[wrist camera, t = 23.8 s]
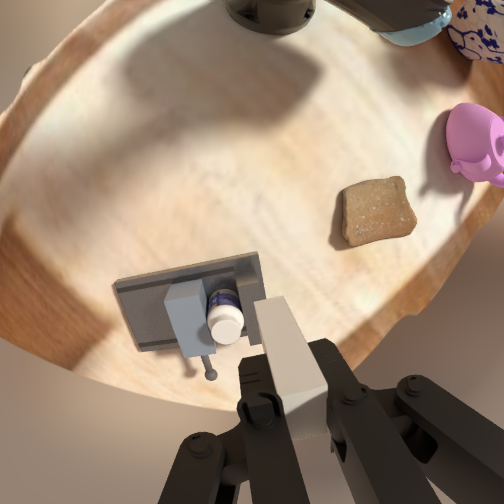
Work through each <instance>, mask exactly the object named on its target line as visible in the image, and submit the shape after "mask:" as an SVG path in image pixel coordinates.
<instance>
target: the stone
mask: <svg viewBox="0 0 504 504" xmlns="http://www.w3.org/2000/svg"><path fill="white" fill-rule="evenodd" d="M405 189H406V187H405V182H404V180H403V179H402V178H401V177H400V176H393V177H390V178H388V179H373V180H367V181H363V182H360V183H357V184H354V185H351V186H349V187H347V188H345V189H344V190H343V199H344V200H343V216H344V218H343V223H342V236H343V237H344V238H345V239H346V241H347V242H348V245H349V246H359V245H363V244H366V243H370V242H373V241H377V240H380V239H384V238H385V239H387V238H392V237H398V236H399V237H401V236H407V235H410V234H411V233H412V231H413V229H414V228H415V226H416V224H417V218H416V216H415V214H414V212H413V210H412V208H411V207H410V204H409V202H408V200H407V197H406V194H405Z"/></svg>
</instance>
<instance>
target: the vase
mask: <svg viewBox="0 0 504 504" xmlns="http://www.w3.org/2000/svg"><path fill="white" fill-rule="evenodd" d="M447 32H448V35H449V37H450V39H451V41H452V43H453V44H454V46H455V47H456V49H457V50H458V51H459V52H460V53H461V54H462V55H463V56H464V57H465V58H467V59H470V60H479V61H486V62H492V63H497V64H504V0H466V1H465V2H464V3H463V4H462V6H461V7H460V8H459V10H458V11H457V13H456V14H455V15H454V17H453V18H452V20H451V21H450V22H449V23H448V25H447Z"/></svg>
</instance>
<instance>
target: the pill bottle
mask: <svg viewBox="0 0 504 504" xmlns="http://www.w3.org/2000/svg"><path fill="white" fill-rule="evenodd" d="M207 324H208V327H209V329H210V331H211V335H212V337H213V339H214V340H215V341H216V342H218V343H220V344H226V345H227V344H232V343H234V342H236V341H237V340H238V339H239V337H240V335H241V330H242V328H243V325H244V316H243V311H242V306H241V302H240V297H239V295H238V294H237V293H236V292H234V291H232V290H229V289H221V290H218V291H216V292H214V293H213V294H212V296H211V297H210V299H209V306H208V317H207Z"/></svg>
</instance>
